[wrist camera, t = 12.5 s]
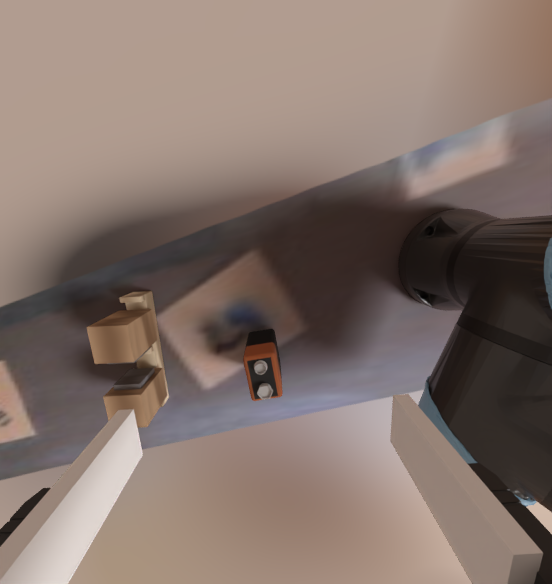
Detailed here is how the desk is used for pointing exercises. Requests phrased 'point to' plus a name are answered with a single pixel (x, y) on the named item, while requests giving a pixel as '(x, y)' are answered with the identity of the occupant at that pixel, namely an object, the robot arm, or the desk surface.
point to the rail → (140, 374)
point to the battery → (263, 365)
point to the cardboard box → (122, 336)
